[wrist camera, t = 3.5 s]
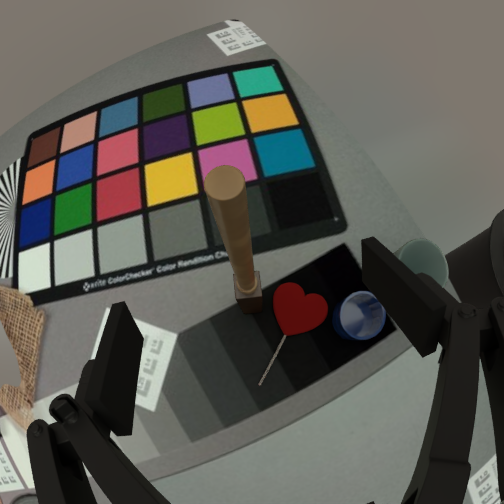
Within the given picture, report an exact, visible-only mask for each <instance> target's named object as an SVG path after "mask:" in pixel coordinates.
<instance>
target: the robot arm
mask: <svg viewBox="0 0 504 504" xmlns="http://www.w3.org/2000/svg"><path fill="white" fill-rule="evenodd" d="M361 246H362V282H363V283H364V284H365V285H366V286H367V288H368V289H369V290H370V291H371V292H372V294H373V295H374V296H375V297H376V299H377V300H378V301H379V302H380V304H381V305H382V306H383V307H384V309H385V310H386V311H387V312H388V314H389V315H390V316H391V317H392V319H393V320H394V321H395V322H396V324H397V325H398V326H399V328H400V329H401V330H402V331H403V333H404V334H405V335H406V337H407V338H408V339H409V341H410V342H411V343H412V345H413V346H414V347H415V348H416V350H417V351H418V352H419V354H420V355H421V356H422V358H423V357H425V356H427V355H429V354H431V353H433V352H435V351H436V348H437V345H438V342H439V344H440V345H441V346H442V347H443V348H442V352H441V355H440V358H439V361H438V363H440V365H439V371H438V377H437V383H436V388H435V394H434V399H433V403H432V408H431V413H430V417H429V421H428V425H427V429H426V433H425V437H424V441H423V444H422V448H421V451H420V455H419V458H418V461H417V465H416V468H415V471H414V474H413V477H412V480H411V482H410V485H409V487H408V489H407V491H406V493H405V495H404V497H403V500H402V502H401V504H462V503H463V500H464V496H465V493H466V489H467V485H468V481H469V476H470V471H471V464H470V463H469V462H468V458H469V452H470V447H471V441H472V435H473V429H474V421H475V414H476V405H477V394H478V381H479V360H480V359H481V363H482V367H483V372H484V376H485V381H486V386H487V391H488V396H489V402H490V407H491V414H492V420H493V428H494V436H495V445H496V456H497V471H498V486H499V493H500V499H501V503H500V504H504V297H496V298H494V299H493V300H492V302H491V305H490V307H488V308H482V309H477V308H476V307H475V306H473V305H471V304H468V303H459V302H458V301H457V300H456V299H455V298H454V297H453V296H452V295H451V294H449V293H448V292H447V291H446V290H445V289H444V288H442V286H441V285H440V284H439V283H437V281H435V280H434V279H433V278H432V277H431V276H429V275H427V274H425V273H423V272H421V273H418V274H415V273H413V272H412V271H411V270H410V269H409V268H408V267H407V266H406V265H405V264H404V263H403V262H402V261H400V260H399V259H398V258H397V257H396V256H395V255H394V254H393V253H392V252H390V251H389V250H388V249H387V248H386V247H385V246H384V245H383V244H381V243H380V242H379V241H378V240H377V239H376V238H375V237H369V238H366V239H362V240H361ZM143 341H144V338H143V336H142V334H141V332H140V330H139V328H138V327H137V325H136V323H135V321H134V319H133V317H132V315H131V313H130V311H129V309H128V307H127V305H126V303H125V301H123V302H119V303H115V304H112V307H111V310H110V313H109V316H108V319H107V322H106V325H105V328H104V331H103V334H102V337H101V341H100V344H99V347H98V351H97V354H96V357H95V359H93V360H89V361H88V362H87V363H86V365H85V366H84V368H83V370H82V374H81V378H80V381H79V384H78V388H77V391H76V395H75V398H74V399H73V398H72V397H71V396H70V395H69V394H61V395H59V396H57V397H56V398H55V399H54V400H53V401H52V402H51V404H50V407H49V412H50V415H51V416H52V417H53V418H54V419H55V420H56V421H57V422H55V423H52V424H50V425H48V424H47V423H46V422H45V421H44V420H41V419H38V420H35V421H34V422H32V423H31V424H30V426H29V427H28V429H27V443H28V450H29V457H30V463H31V469H32V474H33V480H34V485H35V489H36V494H37V498H38V502H39V504H97V502H96V499H95V497H94V494H93V491H92V489H91V486H90V483H89V480H88V478H87V475H86V472H85V469H84V466H83V463H84V465H85V466H86V468H87V469H88V471H89V472H90V474H91V475H92V477H93V478H94V480H95V481H96V482H97V484H98V485H99V487H100V488H101V489H102V491H103V492H104V494H105V495H106V496H107V498H108V499H109V500H110V502H111V503H112V504H171V503H170V502H169V501H168V500H167V499H166V498H165V497H164V496H163V495H162V494H161V493H160V492H159V491H158V490H157V489H156V488H155V487H154V486H153V485H152V484H151V483H150V482H149V481H148V480H147V479H146V478H145V477H144V476H143V475H142V473H141V472H140V471H139V470H138V469H137V468H136V467H135V466H134V465H133V463H132V462H131V461H130V460H129V459H128V458H127V456H126V455H125V454H124V453H123V452H122V450H121V449H120V448H119V447H118V446H117V444H116V443H115V442H114V441H113V440H112V439H111V438H110V432H111V431H112V432H113V433H114V434H115V435H116V436H129V435H132V428H133V418H134V408H135V399H136V391H137V383H138V375H139V368H140V361H141V354H142V347H143ZM82 462H83V463H82ZM367 504H375V503H374V501H372V502H370V503H367Z"/></svg>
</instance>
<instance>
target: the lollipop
mask: <svg viewBox="0 0 504 504" xmlns="http://www.w3.org/2000/svg"><path fill="white" fill-rule="evenodd" d="M273 309H274V313H275V316H276V319H277V322H278V324H279V326H280V328H281V330H282V331H283V333H284V336H283V338H282V340H281V342H280V344H279V346H278V348H277V350H276V352H275V354H274V356H273V358H272V360H271V362H270V363H269V365H268V367H267V369H266V371H265V373H264V375H263V377H262V378H261V380H260V382H259V384H258V385H260V386H261V384H262V382H263V380H264V378H265V376H266V375H267V373H268V371H269V369H270V367H271V365H272V363H273V361H274V359H275V357H276V356H277V354H278V352H279V350H280V348H281V346H282V344H283V342H284V340H285V338H286V336H289V335H295V334H300V333H304V332H307V331H309V330H312V329H314V328H316V327H317V326H319V325H320V324H321V323H322V322H323V321H324V320H325V318H326V316H327V314H328V305H327V302H326V301H325V299H324V298H323V297H322V296H320V295H318V294H313V293H311V294H307V295H305V293H304V291H303V289H302V288H301V287H300V286H299V285H297V284H295V283H291V282H289V283H284V284H282V285H280V286H279V287H278V288H277V289H276V291H275V293H274V296H273Z"/></svg>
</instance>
